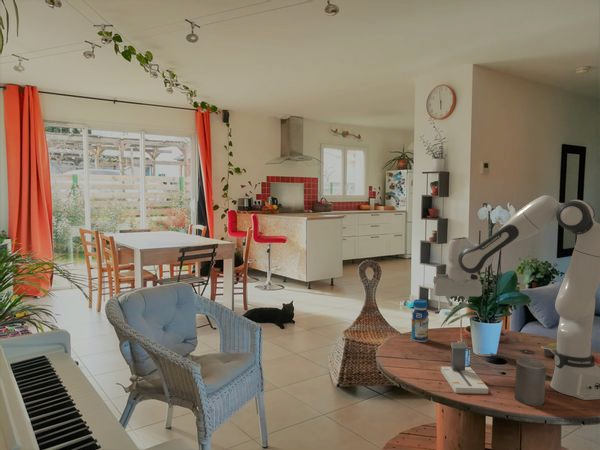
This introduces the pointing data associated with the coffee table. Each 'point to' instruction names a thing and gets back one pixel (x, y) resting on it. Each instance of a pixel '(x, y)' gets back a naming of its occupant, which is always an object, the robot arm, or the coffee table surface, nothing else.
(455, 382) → the board
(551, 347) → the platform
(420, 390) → the coffee table surface
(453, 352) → the fader tab
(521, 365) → the pillar candle
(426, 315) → the beverage bottle
